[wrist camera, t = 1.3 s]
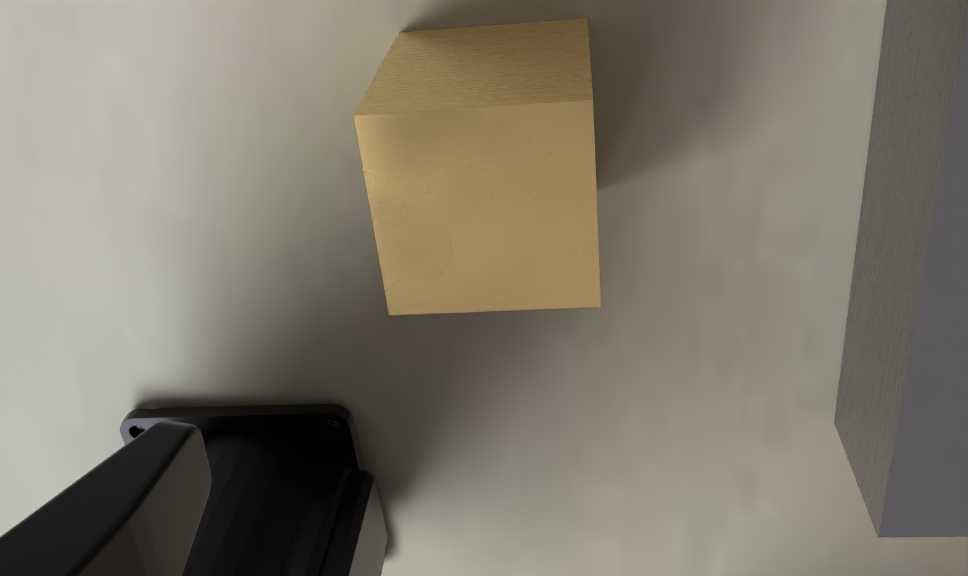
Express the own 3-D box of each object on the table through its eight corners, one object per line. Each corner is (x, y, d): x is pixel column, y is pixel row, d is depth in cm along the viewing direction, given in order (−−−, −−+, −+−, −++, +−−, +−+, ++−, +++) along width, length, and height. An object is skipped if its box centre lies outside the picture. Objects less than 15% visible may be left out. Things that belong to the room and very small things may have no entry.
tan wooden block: (423, 200, 22) (389, 315, 17) (399, 31, 20) (353, 115, 15) (594, 190, 21) (600, 306, 17) (587, 16, 19) (592, 100, 15)
